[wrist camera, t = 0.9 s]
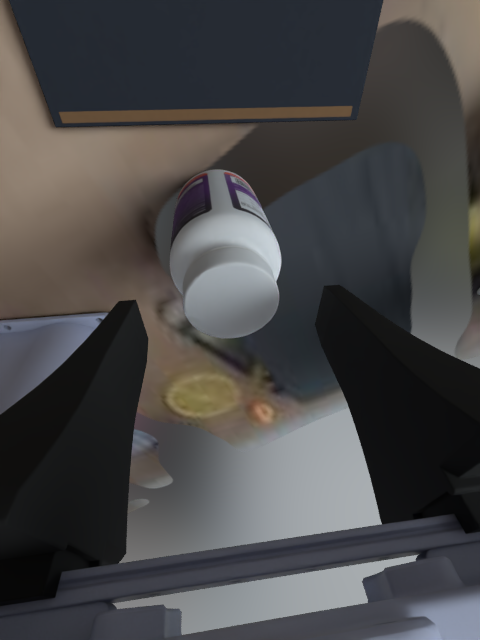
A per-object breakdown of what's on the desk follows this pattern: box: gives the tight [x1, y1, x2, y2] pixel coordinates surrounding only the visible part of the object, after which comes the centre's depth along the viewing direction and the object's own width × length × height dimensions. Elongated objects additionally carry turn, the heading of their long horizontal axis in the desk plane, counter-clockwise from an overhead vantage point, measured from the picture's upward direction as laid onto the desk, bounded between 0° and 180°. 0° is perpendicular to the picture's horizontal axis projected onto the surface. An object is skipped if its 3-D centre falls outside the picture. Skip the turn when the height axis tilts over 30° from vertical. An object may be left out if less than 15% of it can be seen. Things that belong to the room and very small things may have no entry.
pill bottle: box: [170, 169, 281, 338], centre depth 15 cm, size 5×5×10 cm
